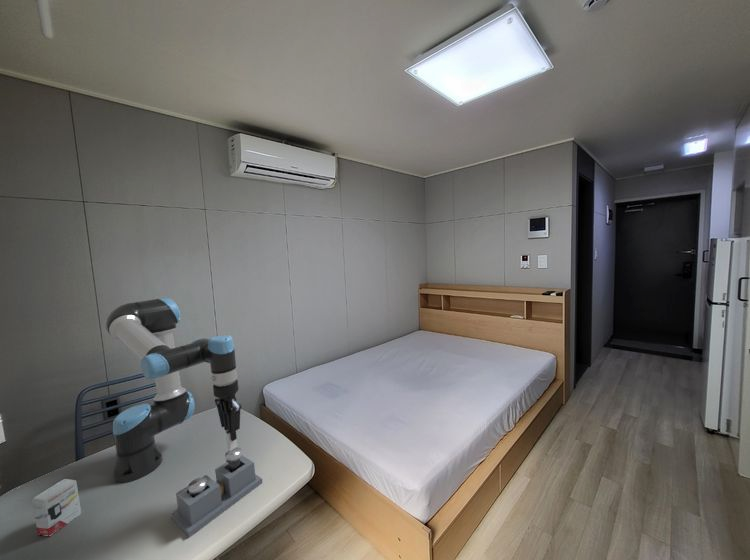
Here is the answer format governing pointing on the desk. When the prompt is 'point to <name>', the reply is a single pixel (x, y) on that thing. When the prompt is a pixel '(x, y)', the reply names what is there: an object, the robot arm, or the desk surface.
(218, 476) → the mount
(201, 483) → the knob
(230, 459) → the knob
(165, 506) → the desk surface
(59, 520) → the ink box
